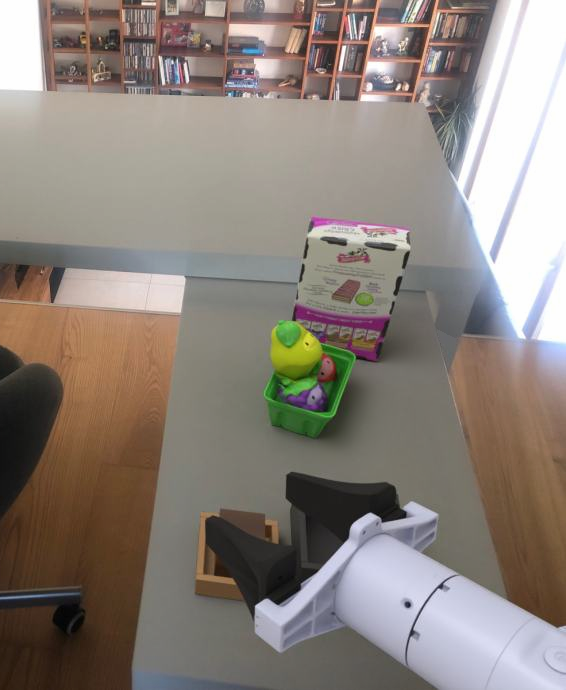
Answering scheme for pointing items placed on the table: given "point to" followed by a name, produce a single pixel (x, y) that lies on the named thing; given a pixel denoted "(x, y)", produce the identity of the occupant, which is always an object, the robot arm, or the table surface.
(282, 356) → the fruit basket
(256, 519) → the walnut block
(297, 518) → the black basket
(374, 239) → the candy bar box
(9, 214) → the table surface
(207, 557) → the kraft box
